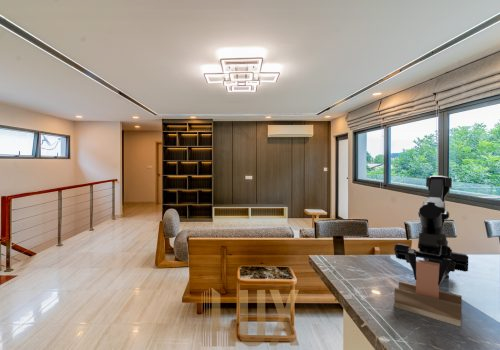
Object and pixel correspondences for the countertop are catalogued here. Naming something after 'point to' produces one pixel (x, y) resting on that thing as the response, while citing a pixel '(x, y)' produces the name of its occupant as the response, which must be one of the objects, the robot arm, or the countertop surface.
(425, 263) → the salmon orange rectangular block
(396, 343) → the countertop surface
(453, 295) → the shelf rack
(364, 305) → the countertop surface
